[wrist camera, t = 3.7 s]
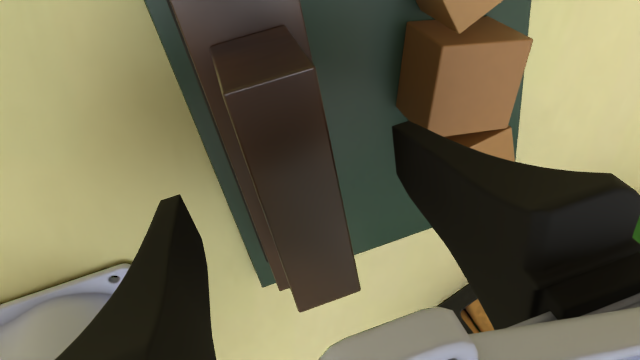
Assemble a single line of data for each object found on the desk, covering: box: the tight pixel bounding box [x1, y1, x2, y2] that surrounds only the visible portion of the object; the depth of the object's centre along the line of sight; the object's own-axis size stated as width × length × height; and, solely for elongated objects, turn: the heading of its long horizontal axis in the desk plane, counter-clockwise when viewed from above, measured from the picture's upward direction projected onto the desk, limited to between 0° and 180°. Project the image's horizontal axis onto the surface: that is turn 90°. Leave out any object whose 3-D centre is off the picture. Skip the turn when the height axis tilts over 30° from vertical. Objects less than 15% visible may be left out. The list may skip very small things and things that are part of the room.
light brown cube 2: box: [396, 16, 533, 137], centre depth 19 cm, size 4×4×3 cm
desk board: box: [144, 0, 531, 287], centre depth 20 cm, size 15×20×1 cm
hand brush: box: [166, 0, 361, 312], centre depth 17 cm, size 4×14×7 cm, turn 10°
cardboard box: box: [445, 125, 515, 162], centre depth 22 cm, size 4×4×3 cm
